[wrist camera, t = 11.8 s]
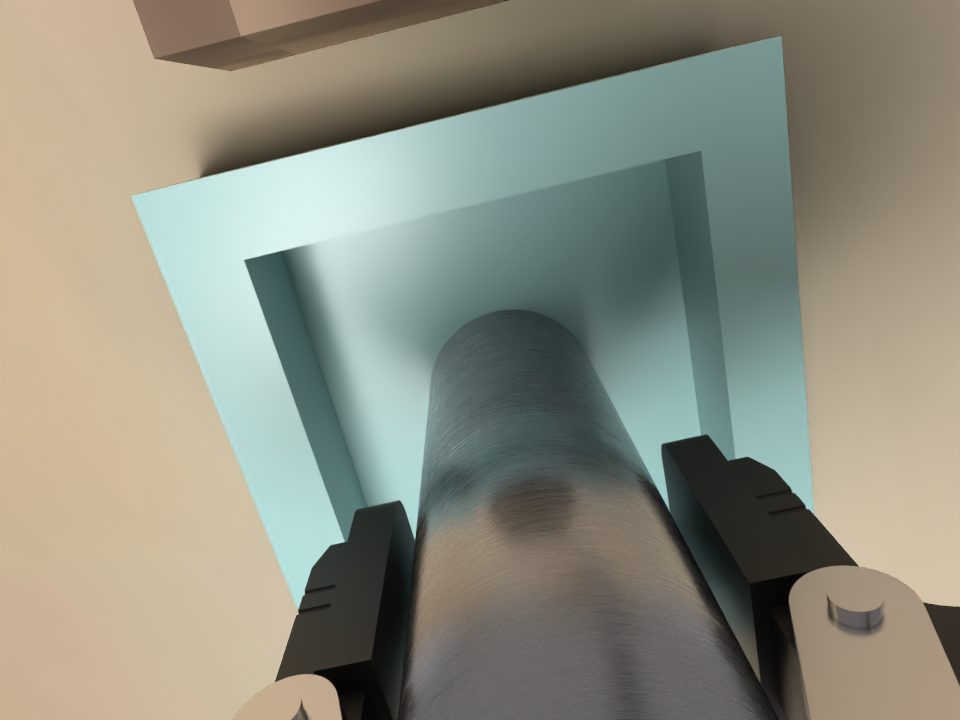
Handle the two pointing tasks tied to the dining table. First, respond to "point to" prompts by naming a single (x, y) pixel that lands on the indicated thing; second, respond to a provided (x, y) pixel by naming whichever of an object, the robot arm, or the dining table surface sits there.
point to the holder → (274, 26)
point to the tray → (498, 280)
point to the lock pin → (553, 552)
